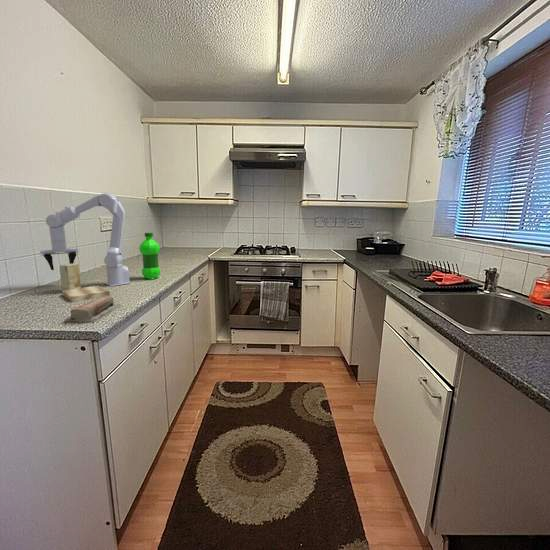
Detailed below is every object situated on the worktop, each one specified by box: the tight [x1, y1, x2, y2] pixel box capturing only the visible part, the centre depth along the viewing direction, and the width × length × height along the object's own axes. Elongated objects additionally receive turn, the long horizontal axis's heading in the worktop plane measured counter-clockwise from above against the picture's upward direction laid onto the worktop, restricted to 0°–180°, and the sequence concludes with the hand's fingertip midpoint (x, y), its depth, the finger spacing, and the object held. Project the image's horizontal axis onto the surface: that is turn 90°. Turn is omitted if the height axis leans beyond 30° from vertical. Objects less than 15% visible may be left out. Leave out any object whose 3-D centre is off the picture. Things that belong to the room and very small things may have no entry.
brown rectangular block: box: [64, 295, 122, 323], centre depth 106 cm, size 18×5×10 cm
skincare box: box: [59, 263, 82, 291], centre depth 134 cm, size 6×4×12 cm
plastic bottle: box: [139, 232, 162, 280], centre depth 161 cm, size 10×10×25 cm
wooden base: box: [62, 285, 110, 303], centre depth 128 cm, size 14×14×2 cm
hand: (62, 268), depth 142 cm, fingers open, 7 cm apart
